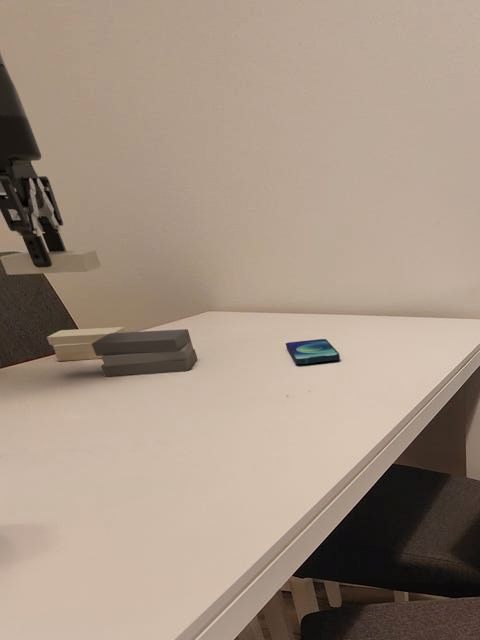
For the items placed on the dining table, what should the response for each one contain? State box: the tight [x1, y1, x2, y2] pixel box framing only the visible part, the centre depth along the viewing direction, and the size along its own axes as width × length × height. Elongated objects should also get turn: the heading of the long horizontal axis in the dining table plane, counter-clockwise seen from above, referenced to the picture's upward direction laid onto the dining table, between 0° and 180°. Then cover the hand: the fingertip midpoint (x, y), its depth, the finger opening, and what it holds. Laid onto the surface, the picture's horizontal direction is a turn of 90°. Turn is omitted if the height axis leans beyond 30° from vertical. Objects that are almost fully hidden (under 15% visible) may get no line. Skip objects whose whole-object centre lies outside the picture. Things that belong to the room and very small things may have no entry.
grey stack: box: [92, 328, 198, 378], centre depth 98 cm, size 14×9×5 cm
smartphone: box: [285, 338, 341, 365], centre depth 103 cm, size 8×1×15 cm
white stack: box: [46, 326, 126, 362], centre depth 106 cm, size 12×7×4 cm, turn 101°
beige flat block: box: [0, 249, 102, 276], centre depth 87 cm, size 11×6×2 cm, turn 99°
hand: (53, 264), depth 87 cm, fingers closed on beige flat block, 6 cm apart
